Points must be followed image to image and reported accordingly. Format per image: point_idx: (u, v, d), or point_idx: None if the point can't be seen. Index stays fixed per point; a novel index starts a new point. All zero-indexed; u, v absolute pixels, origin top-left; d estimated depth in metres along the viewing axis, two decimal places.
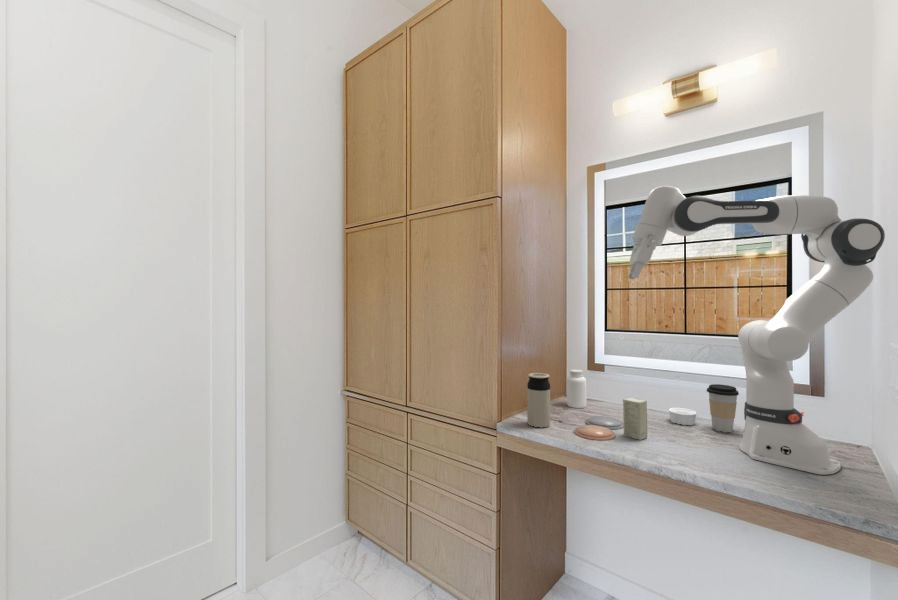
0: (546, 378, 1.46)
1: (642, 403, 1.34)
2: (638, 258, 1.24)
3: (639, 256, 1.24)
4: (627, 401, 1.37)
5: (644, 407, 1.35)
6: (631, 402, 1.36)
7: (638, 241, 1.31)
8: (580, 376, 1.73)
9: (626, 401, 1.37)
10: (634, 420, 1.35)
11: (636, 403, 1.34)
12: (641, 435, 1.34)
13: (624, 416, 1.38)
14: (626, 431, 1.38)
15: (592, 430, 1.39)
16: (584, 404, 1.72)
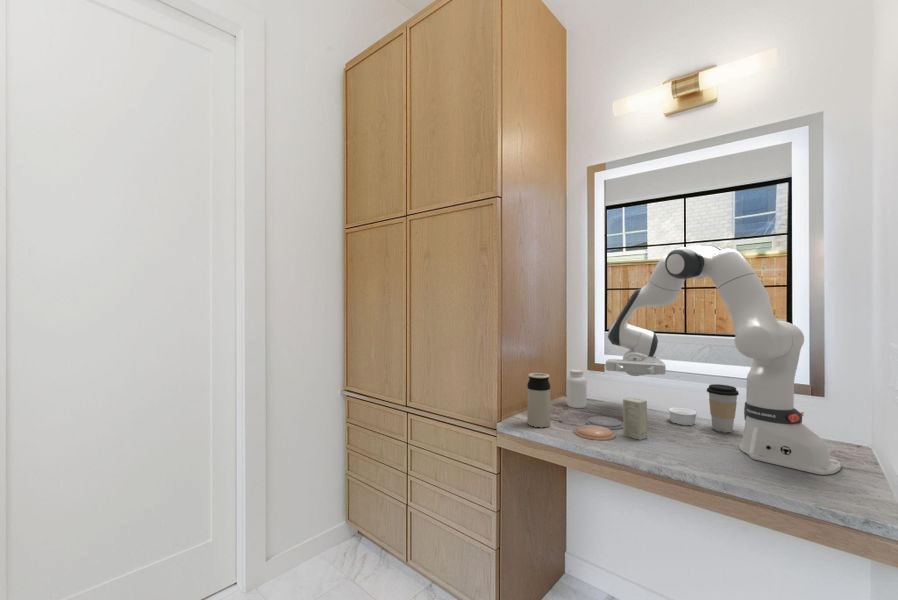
0: (546, 378, 1.46)
1: (642, 403, 1.34)
2: (606, 369, 1.57)
3: None
4: (627, 401, 1.37)
5: (644, 407, 1.35)
6: (631, 402, 1.36)
7: None
8: (580, 376, 1.73)
9: (626, 401, 1.37)
10: (634, 420, 1.35)
11: (636, 403, 1.34)
12: (641, 435, 1.34)
13: (624, 416, 1.38)
14: (626, 431, 1.38)
15: (592, 430, 1.39)
16: (584, 404, 1.72)
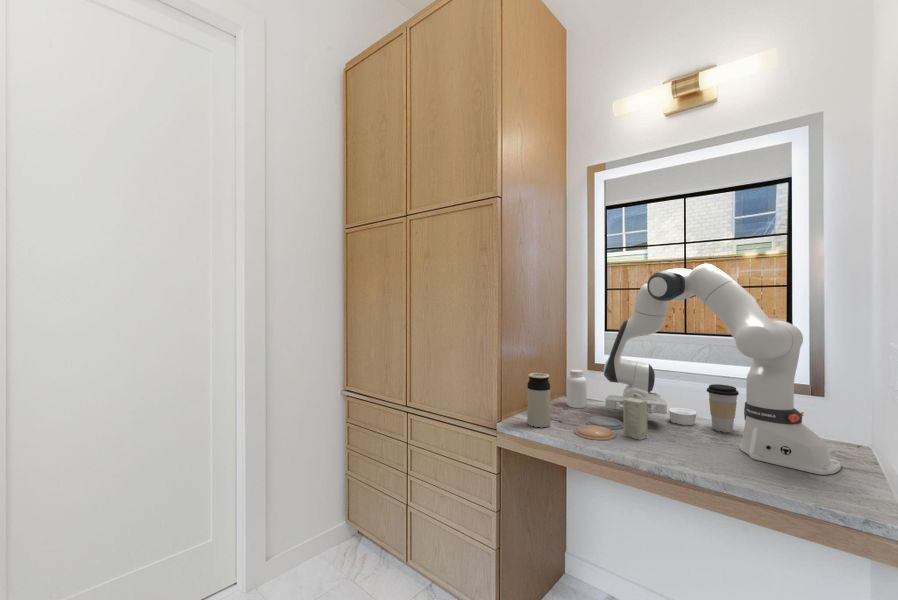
0: (546, 378, 1.46)
1: (642, 403, 1.34)
2: (606, 406, 1.53)
3: None
4: (627, 401, 1.37)
5: (644, 407, 1.35)
6: (631, 402, 1.36)
7: None
8: (580, 376, 1.73)
9: (626, 401, 1.37)
10: (634, 420, 1.35)
11: (636, 403, 1.34)
12: (641, 435, 1.34)
13: (624, 416, 1.38)
14: (626, 431, 1.38)
15: (592, 430, 1.39)
16: (584, 404, 1.72)
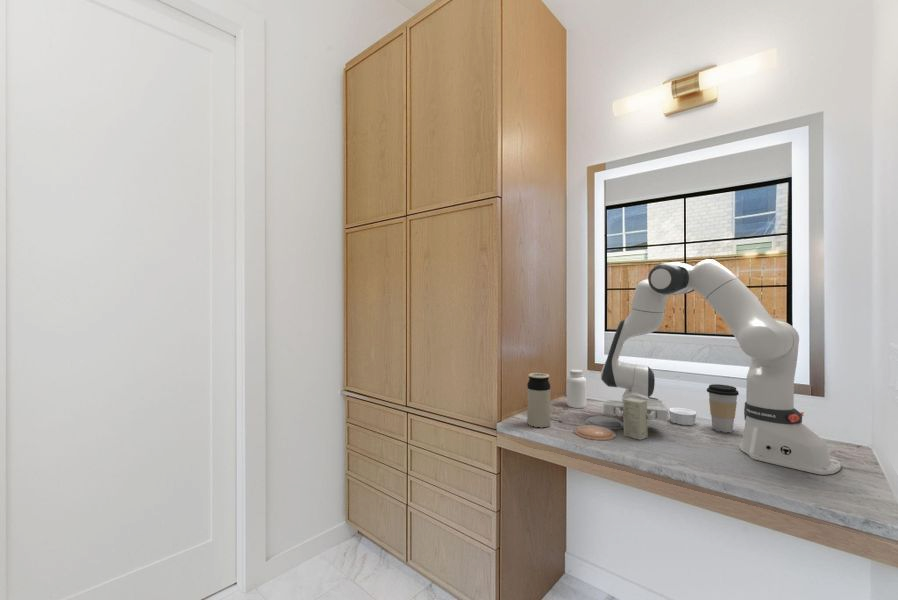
0: (546, 378, 1.46)
1: (642, 403, 1.34)
2: (604, 412, 1.45)
3: None
4: (627, 401, 1.37)
5: (644, 407, 1.35)
6: (631, 402, 1.36)
7: None
8: (580, 376, 1.73)
9: (626, 400, 1.37)
10: (634, 420, 1.35)
11: (636, 403, 1.34)
12: (641, 435, 1.34)
13: (624, 416, 1.38)
14: (626, 431, 1.38)
15: (592, 430, 1.39)
16: (584, 404, 1.72)
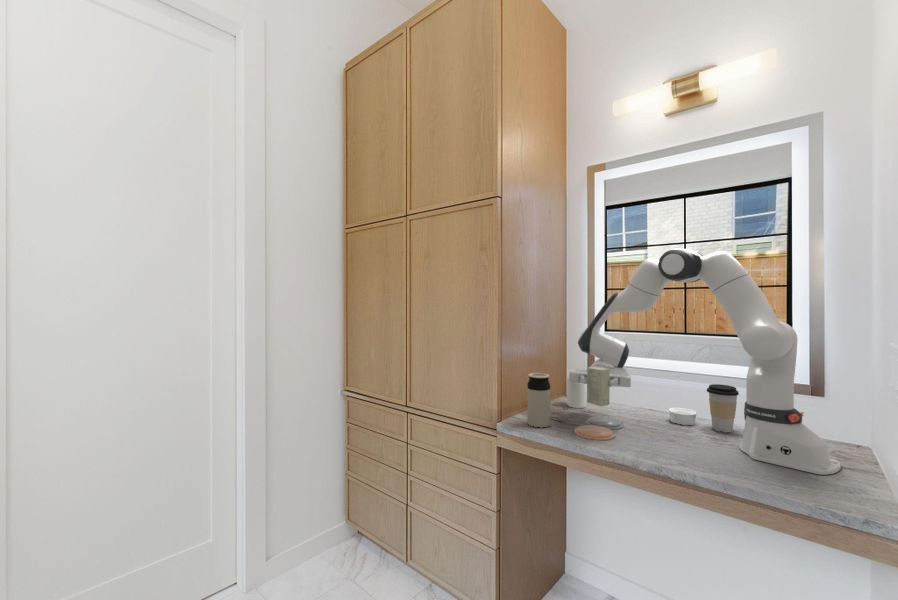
0: (546, 378, 1.46)
1: (604, 371, 1.37)
2: (570, 380, 1.48)
3: None
4: (591, 369, 1.40)
5: (607, 375, 1.38)
6: (594, 370, 1.38)
7: None
8: None
9: (590, 369, 1.40)
10: (596, 387, 1.38)
11: (599, 371, 1.37)
12: (602, 402, 1.37)
13: (587, 384, 1.41)
14: (589, 398, 1.40)
15: (592, 430, 1.39)
16: (584, 404, 1.72)
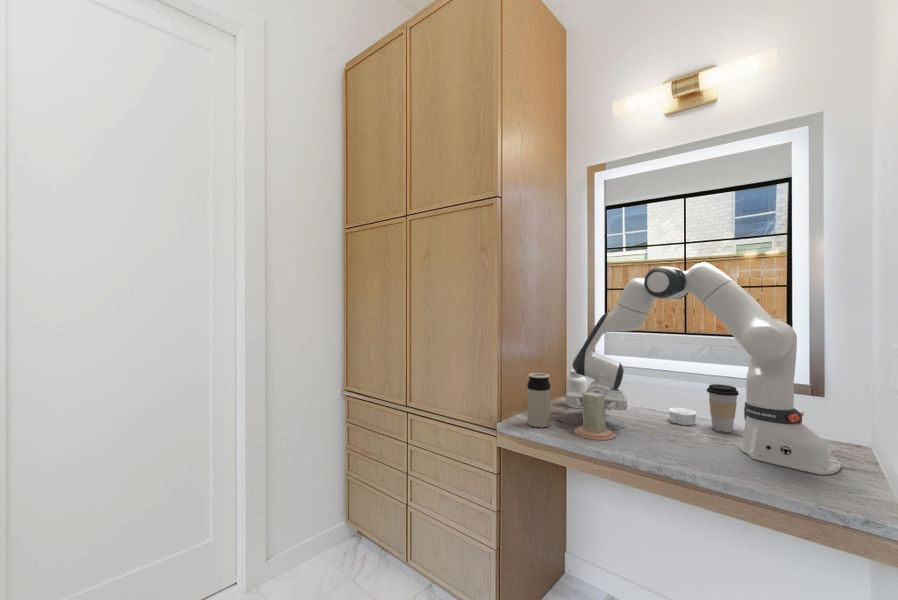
0: (546, 378, 1.46)
1: (600, 397, 1.37)
2: (566, 403, 1.48)
3: (566, 402, 1.49)
4: (586, 395, 1.40)
5: (602, 401, 1.38)
6: (589, 396, 1.39)
7: None
8: (580, 376, 1.73)
9: (585, 395, 1.40)
10: (592, 413, 1.38)
11: (594, 397, 1.37)
12: (599, 428, 1.37)
13: (583, 410, 1.41)
14: (585, 424, 1.40)
15: None
16: None
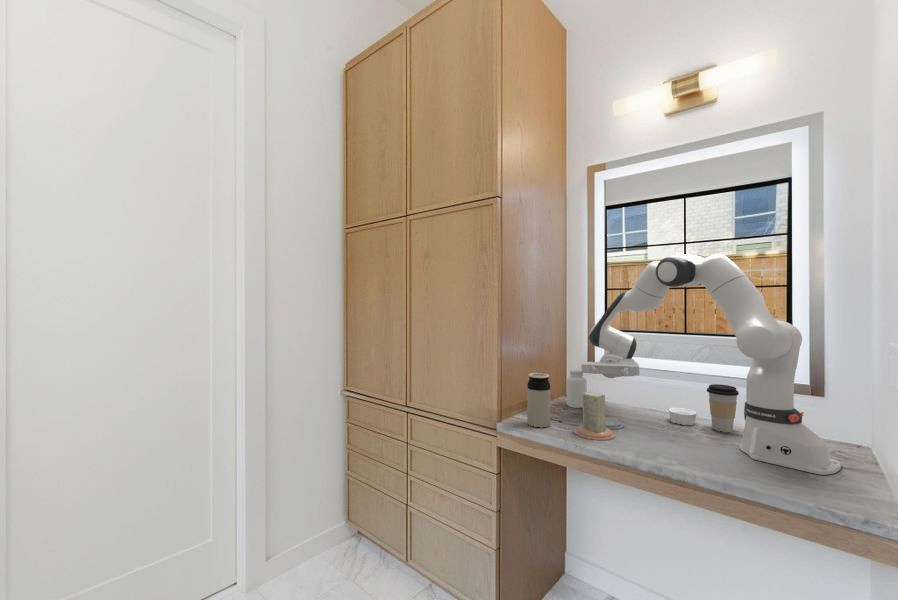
0: (546, 378, 1.46)
1: (600, 397, 1.37)
2: (582, 371, 1.58)
3: None
4: (586, 395, 1.40)
5: (602, 401, 1.38)
6: (589, 396, 1.39)
7: None
8: (580, 376, 1.73)
9: (585, 395, 1.40)
10: (592, 413, 1.38)
11: (594, 397, 1.37)
12: (599, 428, 1.37)
13: (583, 410, 1.41)
14: (585, 424, 1.40)
15: None
16: None
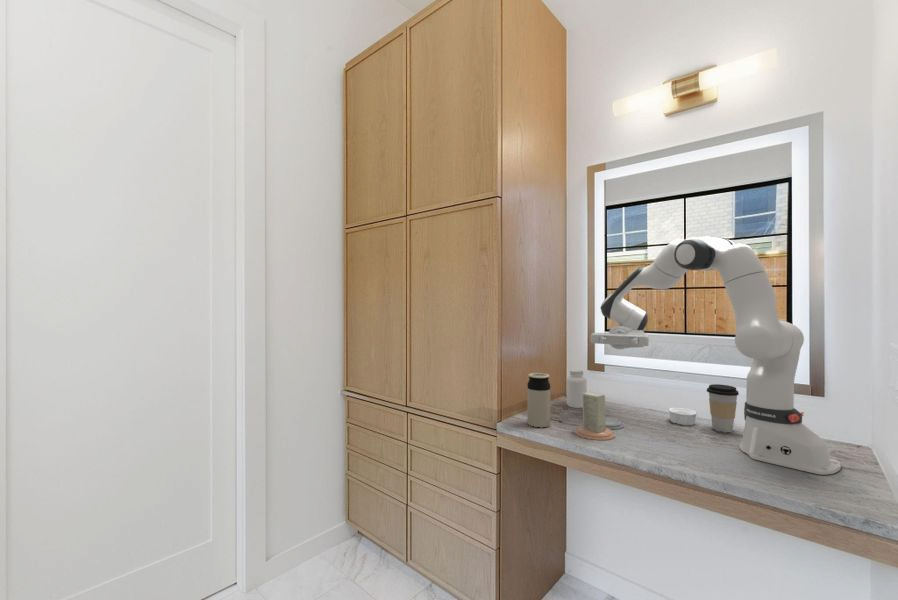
0: (546, 378, 1.46)
1: (600, 397, 1.37)
2: (591, 342, 1.59)
3: None
4: (586, 395, 1.40)
5: (602, 401, 1.38)
6: (589, 396, 1.39)
7: (613, 344, 1.62)
8: (580, 376, 1.73)
9: (585, 395, 1.40)
10: (592, 413, 1.38)
11: (594, 397, 1.37)
12: (599, 428, 1.37)
13: (583, 410, 1.41)
14: (585, 424, 1.40)
15: None
16: None
